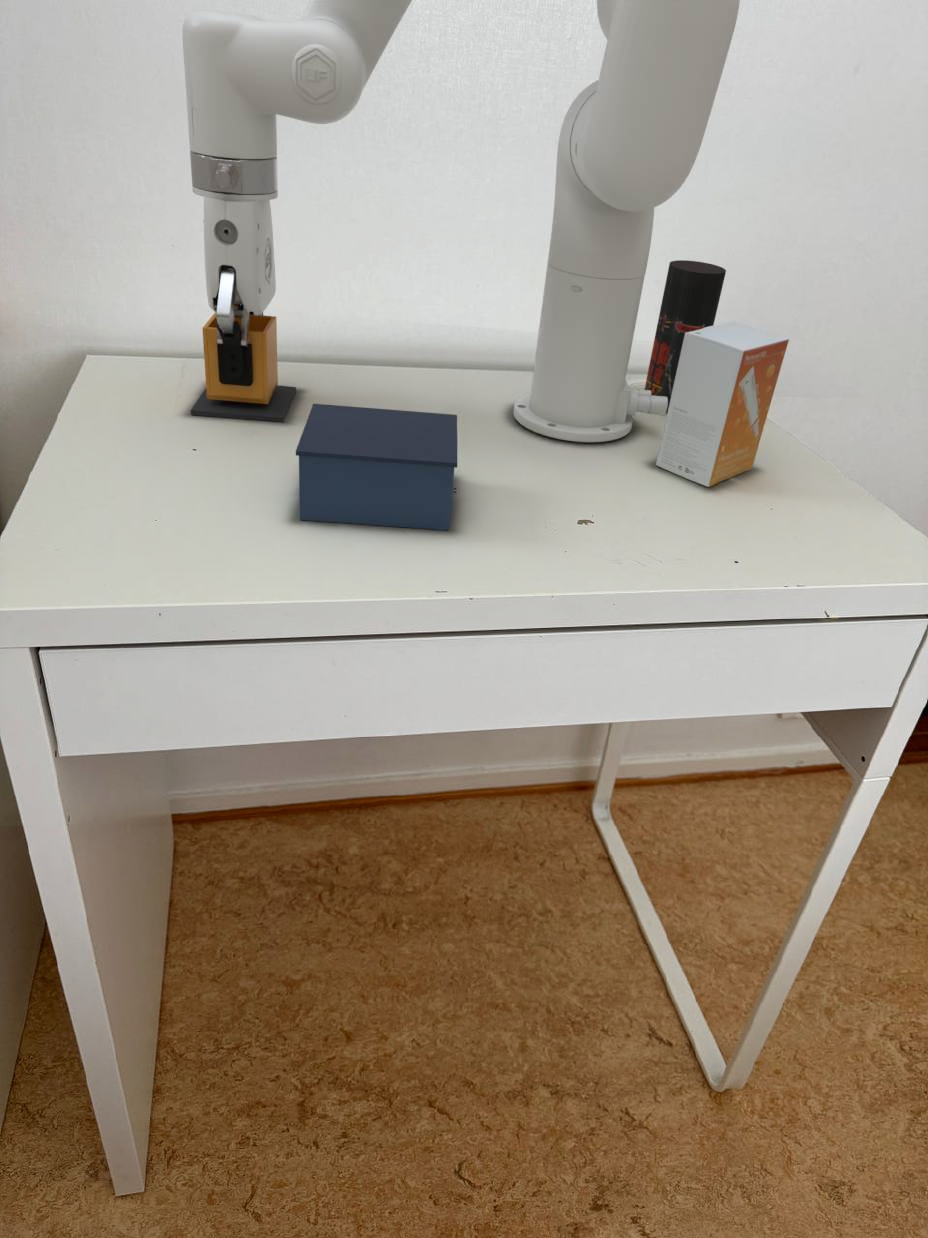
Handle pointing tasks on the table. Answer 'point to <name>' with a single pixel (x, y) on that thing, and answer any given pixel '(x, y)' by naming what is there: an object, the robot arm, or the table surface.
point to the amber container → (262, 355)
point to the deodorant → (682, 318)
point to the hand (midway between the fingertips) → (243, 371)
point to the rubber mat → (247, 406)
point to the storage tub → (377, 467)
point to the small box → (720, 401)
